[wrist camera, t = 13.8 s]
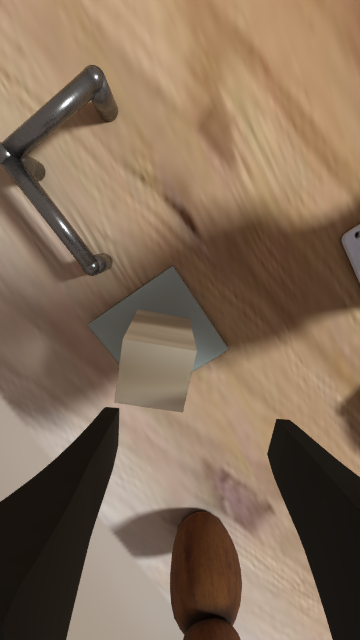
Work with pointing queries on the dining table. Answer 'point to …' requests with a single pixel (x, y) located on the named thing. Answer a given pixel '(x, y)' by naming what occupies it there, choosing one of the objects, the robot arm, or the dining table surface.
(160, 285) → the mat
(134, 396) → the ash block
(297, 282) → the dining table surface
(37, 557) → the robot arm
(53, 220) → the bent rod
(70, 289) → the dining table surface
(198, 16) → the dining table surface
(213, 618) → the wooden figurine
